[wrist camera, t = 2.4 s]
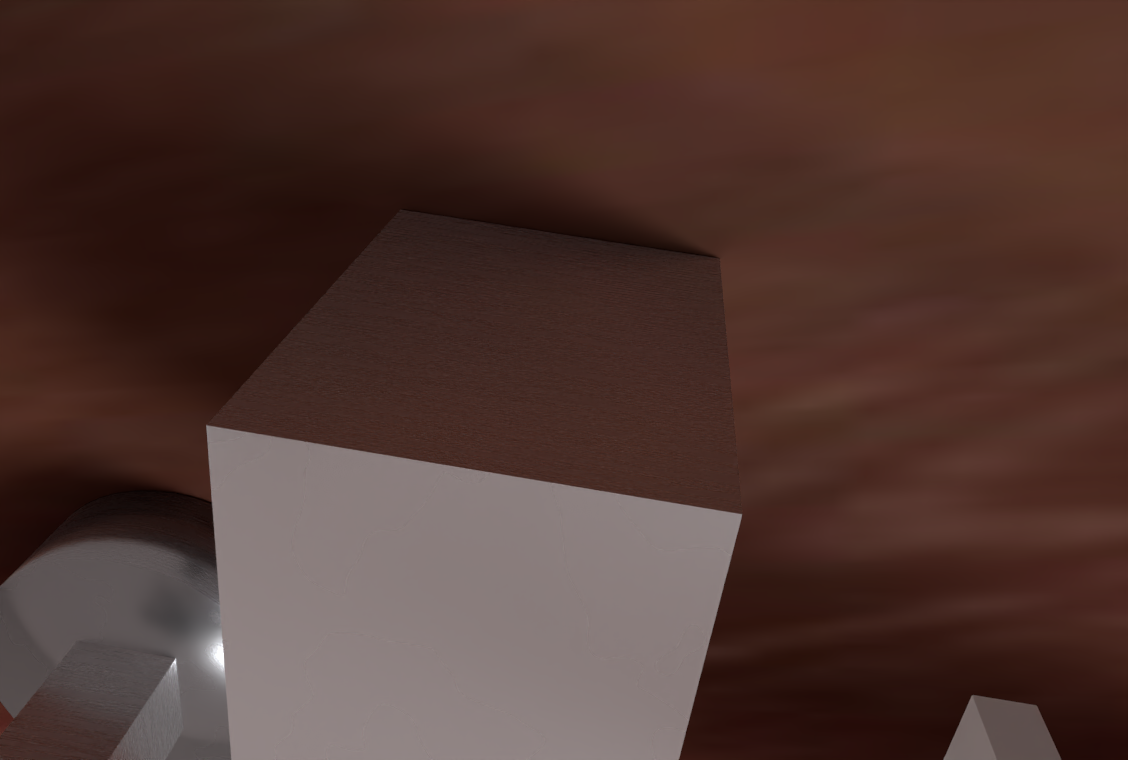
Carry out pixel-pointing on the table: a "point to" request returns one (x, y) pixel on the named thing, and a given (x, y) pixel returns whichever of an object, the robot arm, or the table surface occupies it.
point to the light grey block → (479, 503)
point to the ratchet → (117, 637)
